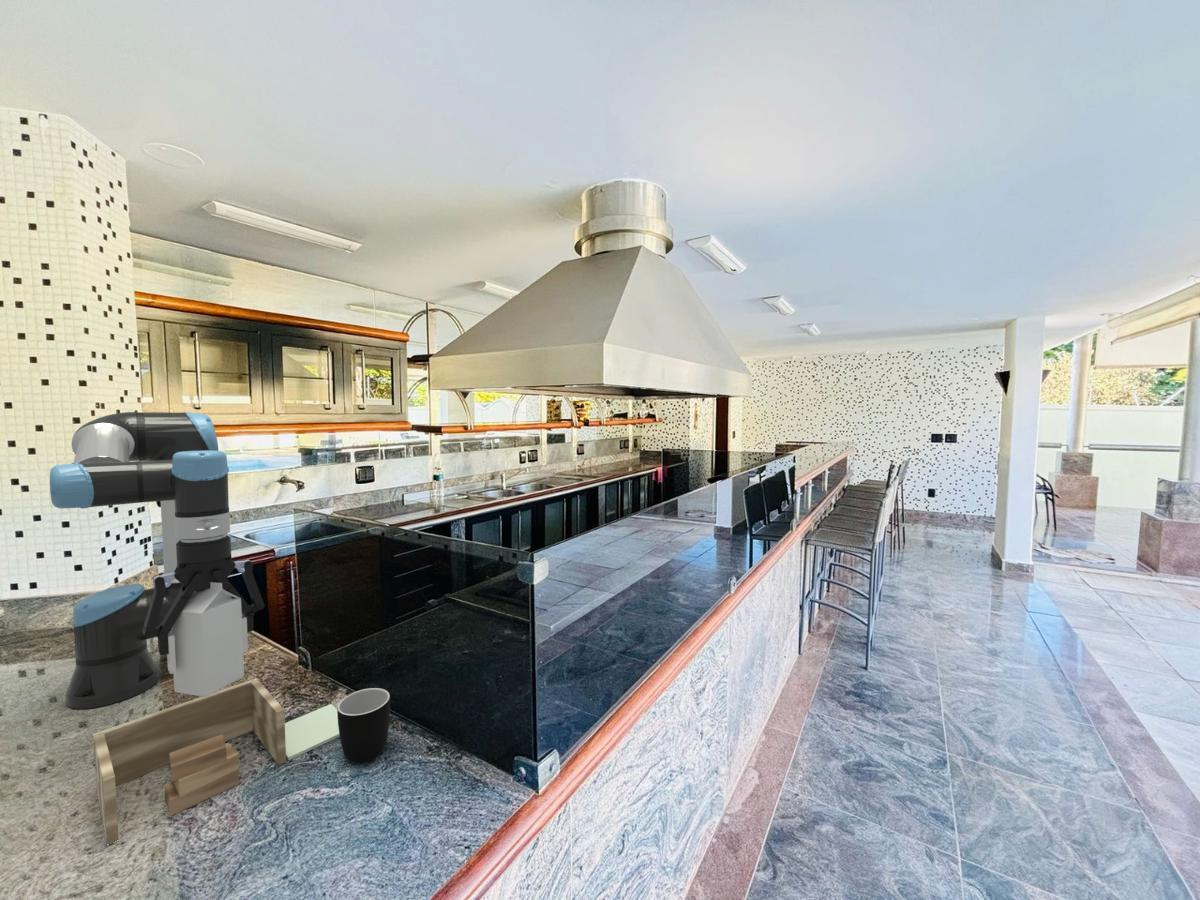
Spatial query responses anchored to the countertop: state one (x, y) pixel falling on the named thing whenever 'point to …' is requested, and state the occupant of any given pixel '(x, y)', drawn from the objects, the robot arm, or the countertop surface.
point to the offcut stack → (201, 773)
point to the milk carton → (208, 642)
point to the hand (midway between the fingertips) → (209, 659)
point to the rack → (182, 738)
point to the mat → (311, 731)
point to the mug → (364, 724)
